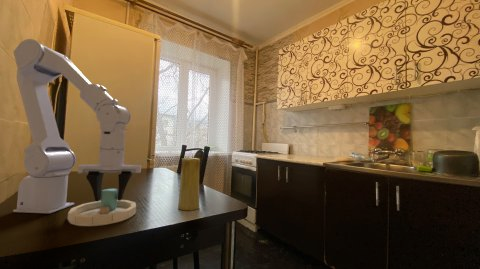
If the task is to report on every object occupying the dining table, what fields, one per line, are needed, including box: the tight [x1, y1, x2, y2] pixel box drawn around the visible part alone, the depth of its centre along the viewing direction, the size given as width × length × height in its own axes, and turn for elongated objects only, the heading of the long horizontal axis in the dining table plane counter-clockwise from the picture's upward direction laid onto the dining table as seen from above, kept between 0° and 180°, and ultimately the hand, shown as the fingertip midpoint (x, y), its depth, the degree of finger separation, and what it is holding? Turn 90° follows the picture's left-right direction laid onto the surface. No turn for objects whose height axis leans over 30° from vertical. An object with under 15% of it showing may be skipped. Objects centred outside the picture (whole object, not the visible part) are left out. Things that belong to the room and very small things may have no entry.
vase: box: [177, 157, 201, 212], centre depth 62 cm, size 6×6×14 cm
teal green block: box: [100, 188, 119, 211], centre depth 56 cm, size 4×4×5 cm
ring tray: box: [67, 199, 137, 227], centre depth 53 cm, size 14×14×2 cm
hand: (109, 200), depth 56 cm, fingers open, 5 cm apart
